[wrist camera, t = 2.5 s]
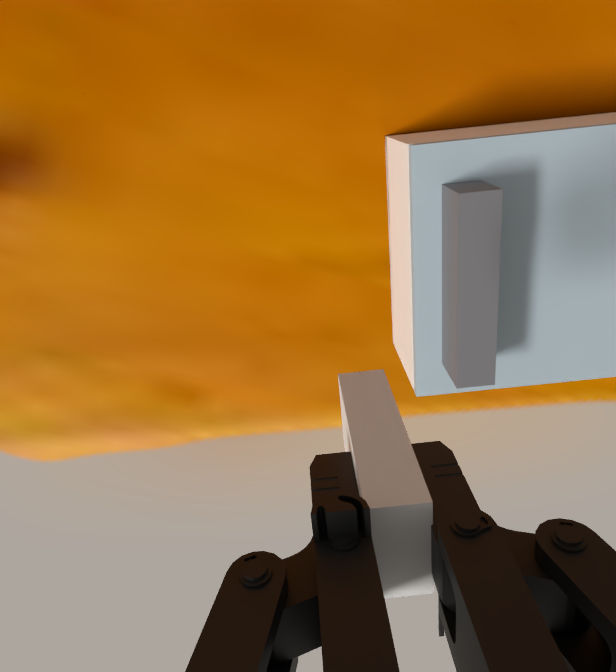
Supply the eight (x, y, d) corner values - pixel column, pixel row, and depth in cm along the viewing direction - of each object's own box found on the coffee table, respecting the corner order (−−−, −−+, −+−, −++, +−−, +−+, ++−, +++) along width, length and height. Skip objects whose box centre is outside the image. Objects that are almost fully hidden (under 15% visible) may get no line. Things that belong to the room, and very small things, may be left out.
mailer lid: (812, 102, 27) (884, 102, 24) (750, 357, 33) (802, 386, 30) (408, 144, 28) (425, 150, 24) (414, 391, 33) (428, 424, 30)
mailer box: (709, 101, 34) (807, 102, 28) (672, 314, 40) (747, 355, 33) (384, 135, 34) (407, 144, 28) (393, 342, 40) (413, 389, 33)
